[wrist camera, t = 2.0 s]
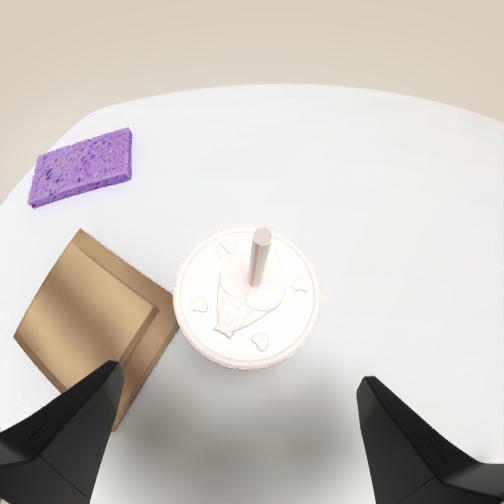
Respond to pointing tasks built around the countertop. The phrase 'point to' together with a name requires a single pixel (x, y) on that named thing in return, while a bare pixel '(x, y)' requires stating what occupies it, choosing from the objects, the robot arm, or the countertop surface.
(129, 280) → the walnut base
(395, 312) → the countertop surface
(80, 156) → the sponges
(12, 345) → the countertop surface
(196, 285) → the smoothie
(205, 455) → the countertop surface
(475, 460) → the robot arm
